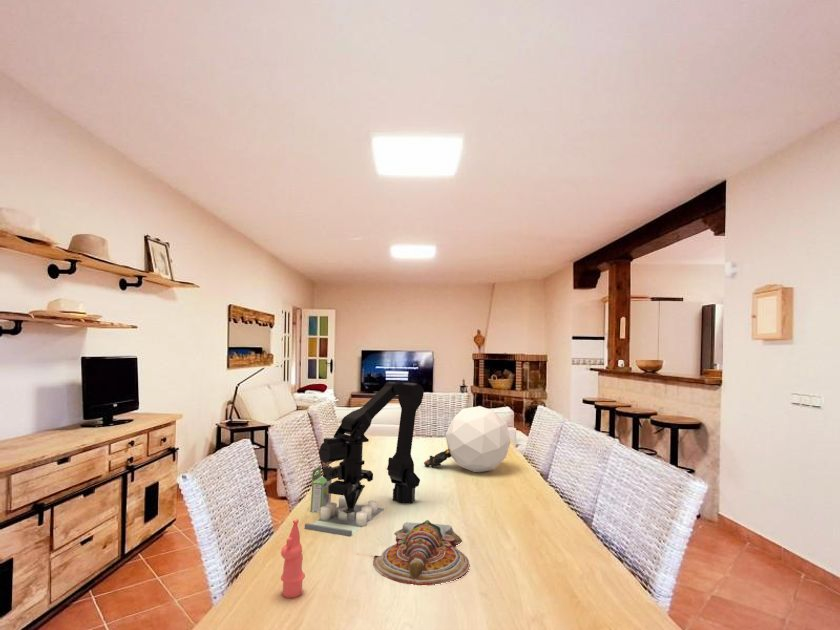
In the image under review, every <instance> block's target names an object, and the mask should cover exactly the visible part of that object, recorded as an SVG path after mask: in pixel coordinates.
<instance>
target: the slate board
mask: <svg viewBox="0 0 840 630" xmlns="http://www.w3.org/2000/svg"><path fill="white" fill-rule="evenodd" d="M364 506H365V505H361V504H356V505H355V507H354V511H355V518H354V520H353V521H349V522H342V521H338V509H339V506H337V509H336V516H334V517H331V519H330V520H328V521H322V520H320V518H319V519H318V520H315V521H314V522H312V523H309V522H308V523H307V522H306V523H304V530H305V529H306V530H309V531H310V530H311V531H317V532H323V533H329V534H333V535H334V534H335V535H341V536H347V537H352V536H353V535H355V534H356V533H357V532H358V531H359V530H361V529H362V528H363V527H364V526H362V527H360V526H356V513H357V512H359V511H361V508H362V507H364ZM384 510H385V508H382V507H377V514H374V515H371V520H373V519H374V518H375V517H377V515H379V514H381V512H383V511H384ZM371 520H369V521H367V524H368V523H369V522H371Z"/></svg>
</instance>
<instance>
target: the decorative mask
mask: <svg viewBox="0 0 840 630" xmlns="http://www.w3.org/2000/svg"><path fill="white" fill-rule="evenodd" d="M393 535H395V536H396V537H395V541H396V543H394V544H393V545H391V546H388V547H387V548H385V549H384V551H383V552H382V553H381V555H375V556H374V557H373V558H372V566H373V569H374V570H375V571H376V573H378V574H379V575H380V576H382V577H384V578H386V579H388V580H391V581H394V582H397V583H401V584H404V585H411V584H413V585H414V586H422V585H427V586H430V587H431V586H436V585H435V584H440V585H442V584H441V583H446V582H450V581H454V580H456V579H459V578H461V577H462V576H464V575H465V574H466V573H467V572H468V573H469V571H470V569H469V567H470V568H471V564H469V563H470V560H469V558H468V557H467V556H466V555H465V554H464V553H463V552H462V551H460V549H458V548H457V547H455V546H456V545H458V544H460V543H461V542H462V543H463V540H462V538H461V537H460V535H458V534H456V532H455V531H454V530H453V526H451V525H449V524H443V523H442V524H439V523H433V522H430V520H429V519H427V520H425V521H423V522H422V523H419V522H404V523H403V524H402V528H401V529H399V530H397V531H395V532H394V534H393ZM468 570H469V571H468ZM468 573H467V574H468ZM467 574H466V575H467ZM466 575H465V576H466ZM465 576H464V577H465ZM462 578H463V577H462ZM462 578H461V579H462ZM459 580H460V579H459ZM456 581H457V580H456ZM454 582H455V581H454ZM450 583H451V582H450ZM446 584H447V583H446Z"/></svg>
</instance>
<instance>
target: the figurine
mask: <svg viewBox="0 0 840 630" xmlns="http://www.w3.org/2000/svg"><path fill="white" fill-rule="evenodd" d="M292 523H293V525H292V528H291V530H290V533H289V535H288V538H287V539H286V544H285V545H283V547H281V550H280V551H281V552H280V555H281V557H282V558H283V559H284V561H283V569H282V570H283V571H282V574H281V576H280V580H281V582H282V596H283V597H285V598H289V599H291V598H297V597H299V596H301V595H302V594H303V582H304V581H303V580H304V579H305V578H306V574H305V572H303V561H304V560H303V559H304V557H303V547H302V544H301V534H300V530H299V526H298V525H299V519H297V518H296V519H293V520H292Z"/></svg>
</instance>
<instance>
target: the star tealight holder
mask: <svg viewBox="0 0 840 630" xmlns="http://www.w3.org/2000/svg"><path fill="white" fill-rule="evenodd" d="M354 518H355V511H354V509H353V508H342V509H338V521H342V522H349V521H353V520H354Z"/></svg>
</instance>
